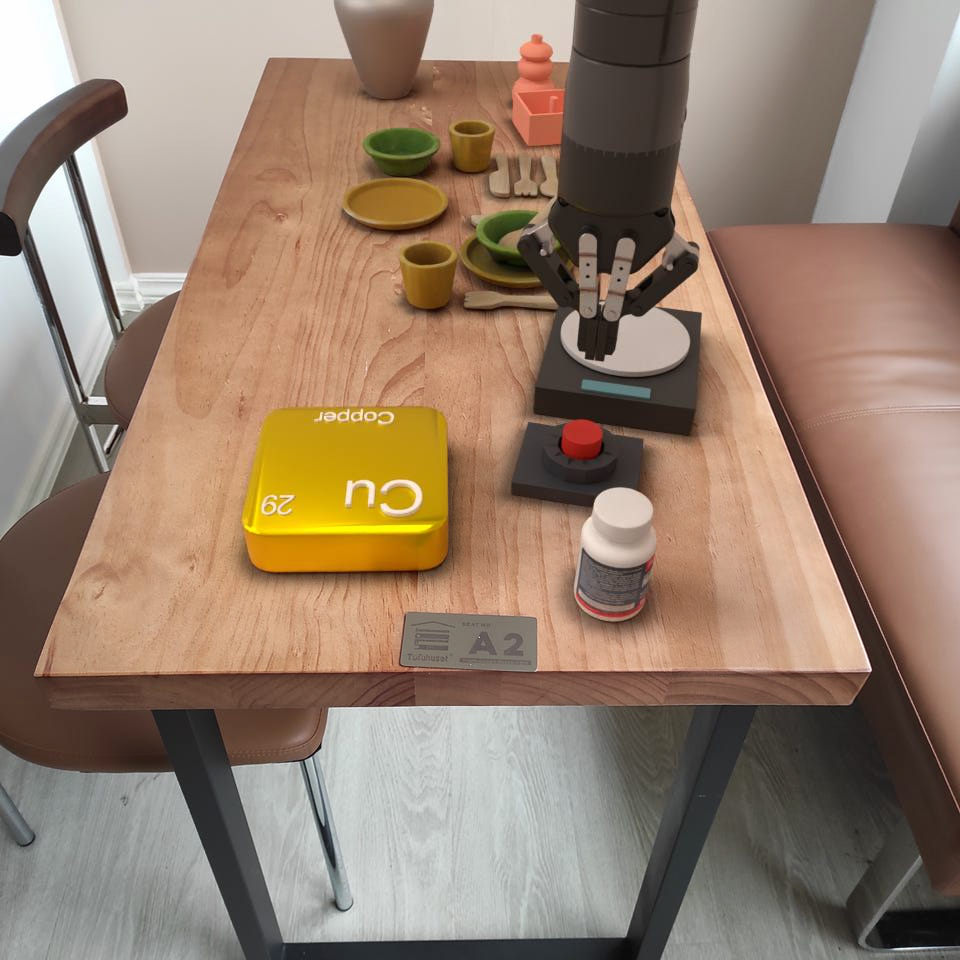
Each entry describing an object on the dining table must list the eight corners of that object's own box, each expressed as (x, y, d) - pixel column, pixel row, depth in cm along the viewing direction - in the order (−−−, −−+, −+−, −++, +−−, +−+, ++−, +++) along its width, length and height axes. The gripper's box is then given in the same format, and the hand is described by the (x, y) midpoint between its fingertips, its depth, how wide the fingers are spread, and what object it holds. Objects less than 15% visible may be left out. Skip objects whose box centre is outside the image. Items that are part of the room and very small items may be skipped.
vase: (424, 113, 136) (420, -83, 120) (329, 104, 138) (312, -89, 121) (443, 79, 147) (442, -105, 130) (355, 72, 149) (343, -111, 132)
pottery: (593, 141, 130) (601, 68, 123) (528, 146, 128) (532, 72, 121) (557, 95, 143) (563, 27, 136) (498, 99, 141) (500, 30, 134)
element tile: (447, 443, 80) (446, 399, 77) (448, 572, 69) (448, 527, 66) (272, 444, 80) (264, 400, 76) (245, 575, 68) (235, 529, 65)
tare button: (602, 439, 77) (604, 422, 76) (598, 463, 75) (600, 446, 73) (564, 433, 77) (566, 416, 76) (558, 457, 75) (560, 440, 74)
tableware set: (585, 320, 95) (591, 265, 91) (314, 314, 95) (308, 259, 91) (562, 155, 126) (566, 108, 122) (358, 151, 126) (354, 103, 121)
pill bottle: (649, 624, 66) (668, 536, 60) (575, 623, 66) (587, 534, 60) (640, 569, 70) (658, 481, 64) (571, 567, 70) (582, 480, 64)
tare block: (641, 450, 80) (646, 423, 78) (633, 514, 74) (638, 486, 72) (527, 434, 81) (529, 406, 79) (510, 494, 76) (512, 466, 74)
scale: (696, 337, 93) (703, 305, 91) (690, 436, 82) (697, 401, 79) (558, 319, 95) (561, 287, 93) (533, 413, 84) (535, 379, 81)
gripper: (506, 136, 56) (499, 371, 68) (728, 158, 54) (682, 396, 66) (528, 93, 62) (518, 318, 73) (730, 111, 60) (687, 339, 71)
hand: (596, 354), depth 70 cm, fingers closed
